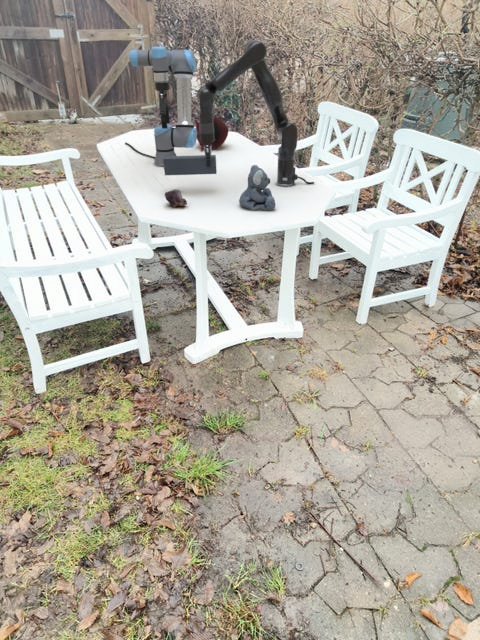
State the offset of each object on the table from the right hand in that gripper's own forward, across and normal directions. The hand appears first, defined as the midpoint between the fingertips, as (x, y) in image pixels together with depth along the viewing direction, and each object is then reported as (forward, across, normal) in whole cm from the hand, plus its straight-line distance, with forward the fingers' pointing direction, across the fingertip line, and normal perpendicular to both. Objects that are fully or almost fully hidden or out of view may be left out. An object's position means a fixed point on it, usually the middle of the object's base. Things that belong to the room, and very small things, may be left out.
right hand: (208, 165), depth 239 cm
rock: (+14, -20, +17) cm, 30 cm away
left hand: (-17, +18, +22) cm, 33 cm away
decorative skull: (+15, +100, 0) cm, 101 cm away
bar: (+4, 0, +10) cm, 11 cm away
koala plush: (+15, -23, -24) cm, 36 cm away
